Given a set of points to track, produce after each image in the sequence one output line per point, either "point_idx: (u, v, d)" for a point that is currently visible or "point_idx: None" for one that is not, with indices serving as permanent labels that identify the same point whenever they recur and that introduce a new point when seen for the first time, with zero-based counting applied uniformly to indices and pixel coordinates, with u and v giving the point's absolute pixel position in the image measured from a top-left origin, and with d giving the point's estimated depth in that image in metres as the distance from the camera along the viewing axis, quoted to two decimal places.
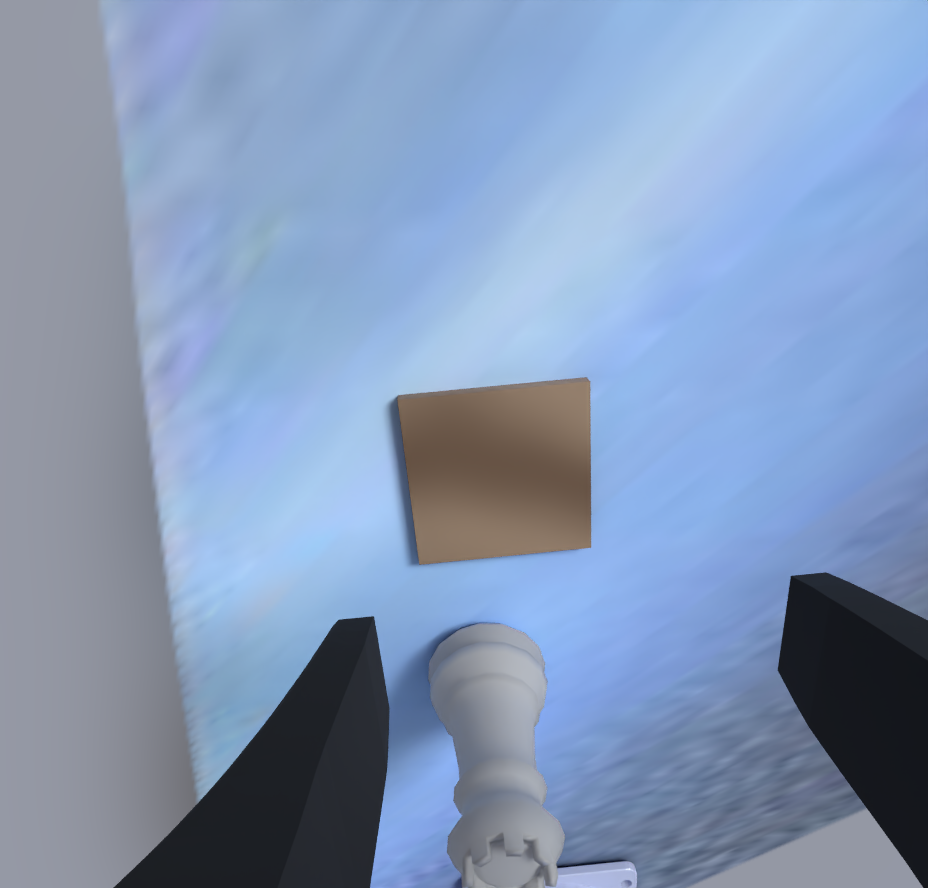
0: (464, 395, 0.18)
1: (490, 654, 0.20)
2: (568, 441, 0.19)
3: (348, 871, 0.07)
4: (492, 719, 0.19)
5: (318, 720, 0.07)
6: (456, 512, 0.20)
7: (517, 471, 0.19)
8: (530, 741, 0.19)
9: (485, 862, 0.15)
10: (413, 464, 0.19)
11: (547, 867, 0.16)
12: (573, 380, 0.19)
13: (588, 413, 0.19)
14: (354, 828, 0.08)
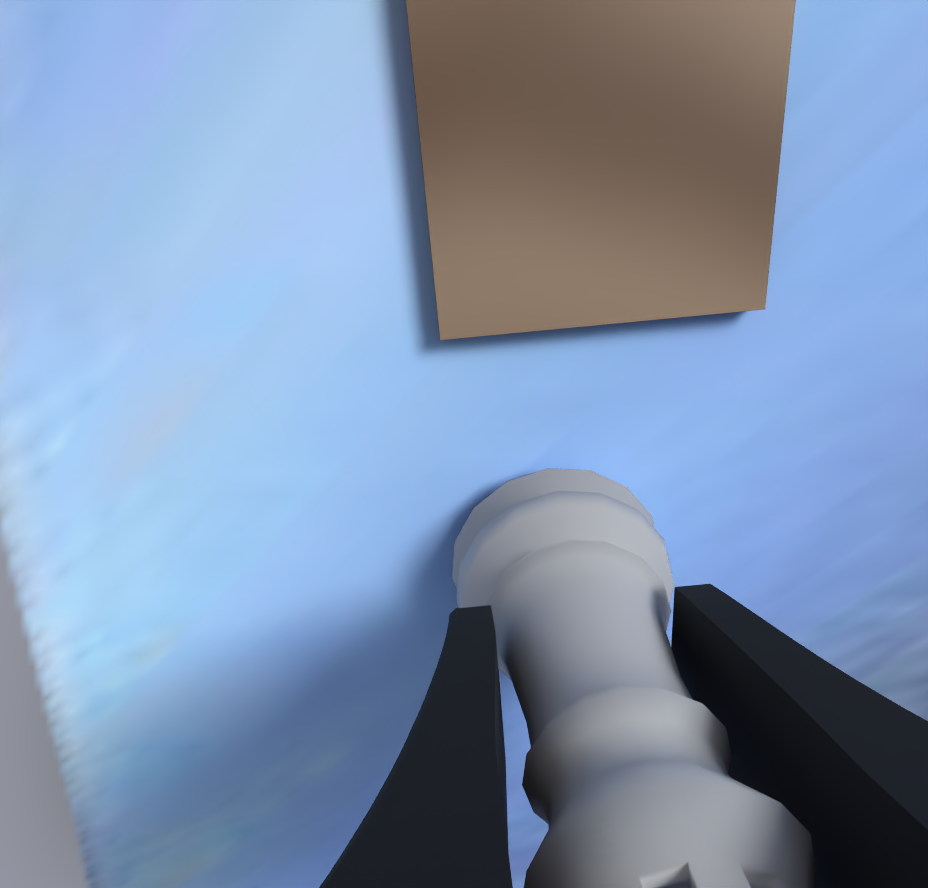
0: None
1: (575, 509, 0.11)
2: (746, 55, 0.09)
3: None
4: (595, 616, 0.09)
5: (478, 704, 0.07)
6: (513, 222, 0.10)
7: (638, 127, 0.10)
8: (675, 663, 0.09)
9: None
10: (432, 103, 0.09)
11: None
12: None
13: None
14: (503, 813, 0.08)
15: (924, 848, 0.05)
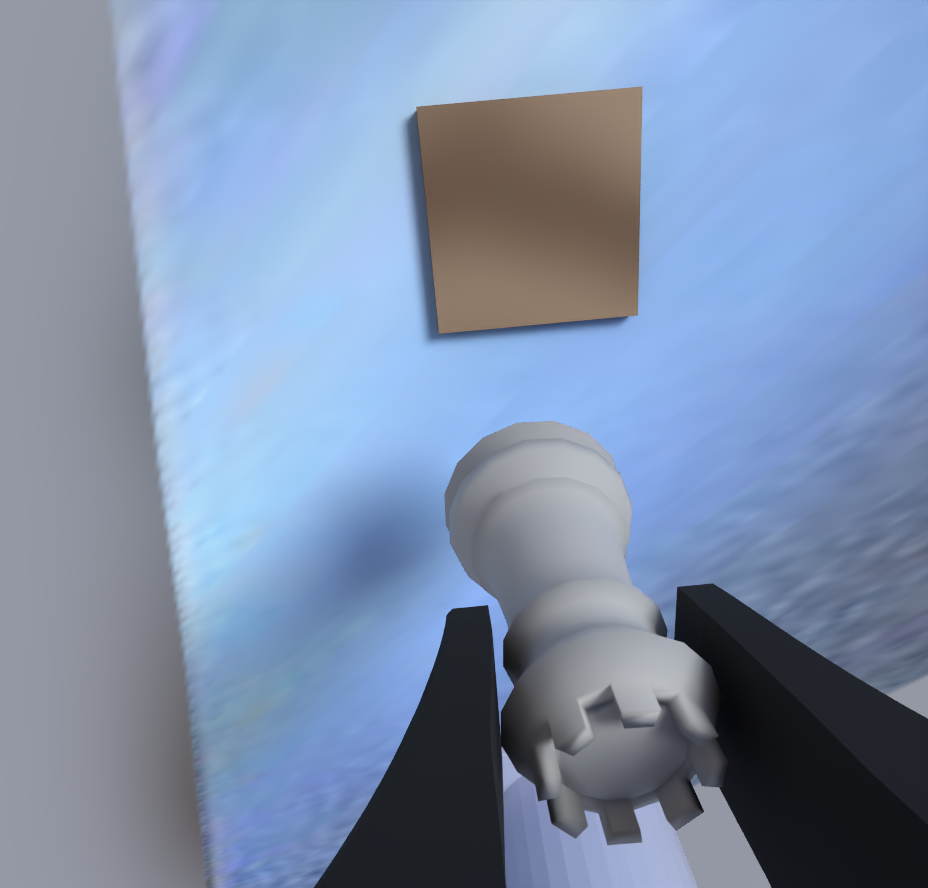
0: (495, 102, 0.16)
1: (540, 453, 0.13)
2: (615, 169, 0.16)
3: None
4: (556, 534, 0.11)
5: (474, 704, 0.07)
6: (482, 263, 0.17)
7: (554, 209, 0.17)
8: (624, 566, 0.11)
9: (582, 744, 0.07)
10: (434, 196, 0.16)
11: (702, 750, 0.08)
12: None
13: (639, 130, 0.16)
14: (500, 813, 0.08)
15: None
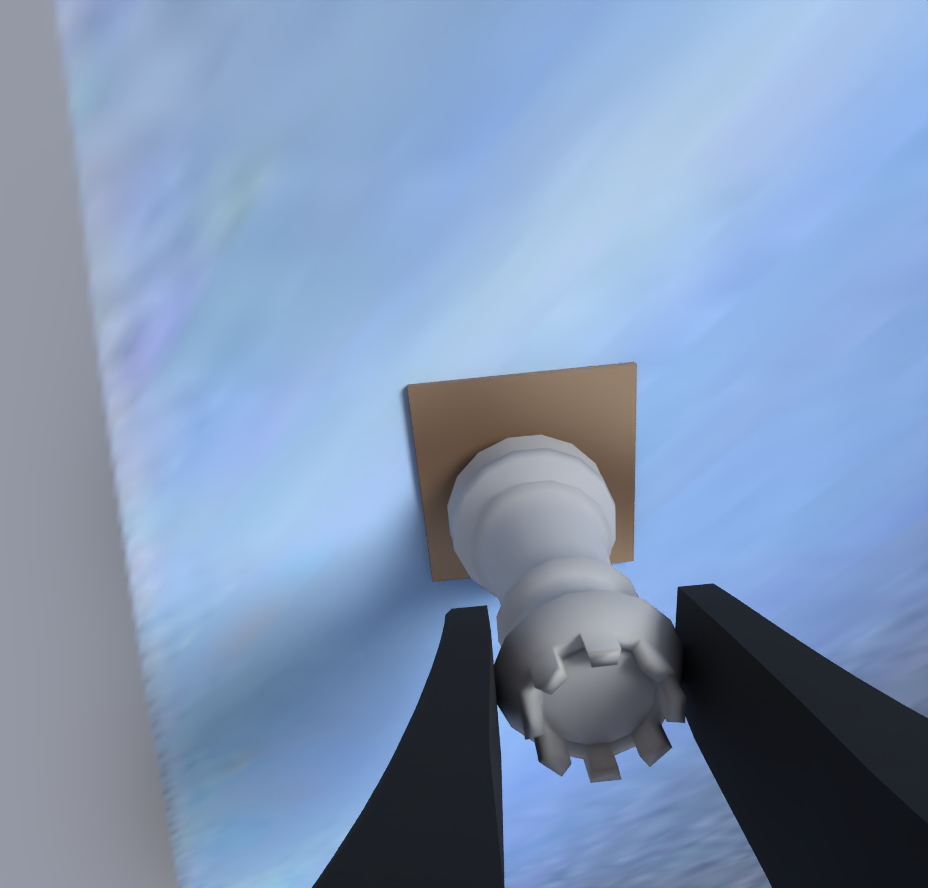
0: (487, 381, 0.15)
1: (527, 461, 0.14)
2: (609, 436, 0.16)
3: None
4: (541, 526, 0.12)
5: (473, 705, 0.07)
6: None
7: None
8: (603, 552, 0.12)
9: (557, 683, 0.09)
10: (426, 464, 0.16)
11: (665, 690, 0.09)
12: None
13: (634, 402, 0.16)
14: (498, 813, 0.08)
15: None
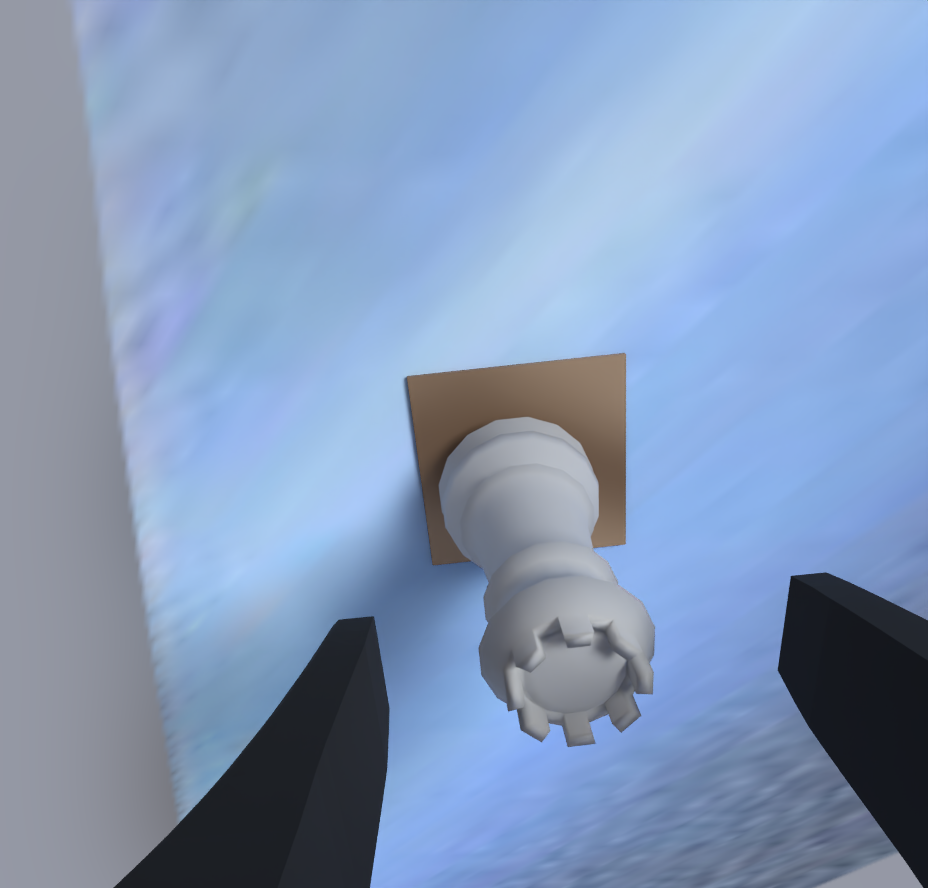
0: (483, 371, 0.16)
1: (514, 445, 0.15)
2: (600, 423, 0.17)
3: (348, 871, 0.07)
4: (526, 510, 0.13)
5: (318, 720, 0.07)
6: None
7: None
8: (584, 533, 0.13)
9: (536, 662, 0.10)
10: (425, 451, 0.17)
11: (635, 666, 0.10)
12: None
13: (623, 391, 0.16)
14: (354, 828, 0.08)
15: None
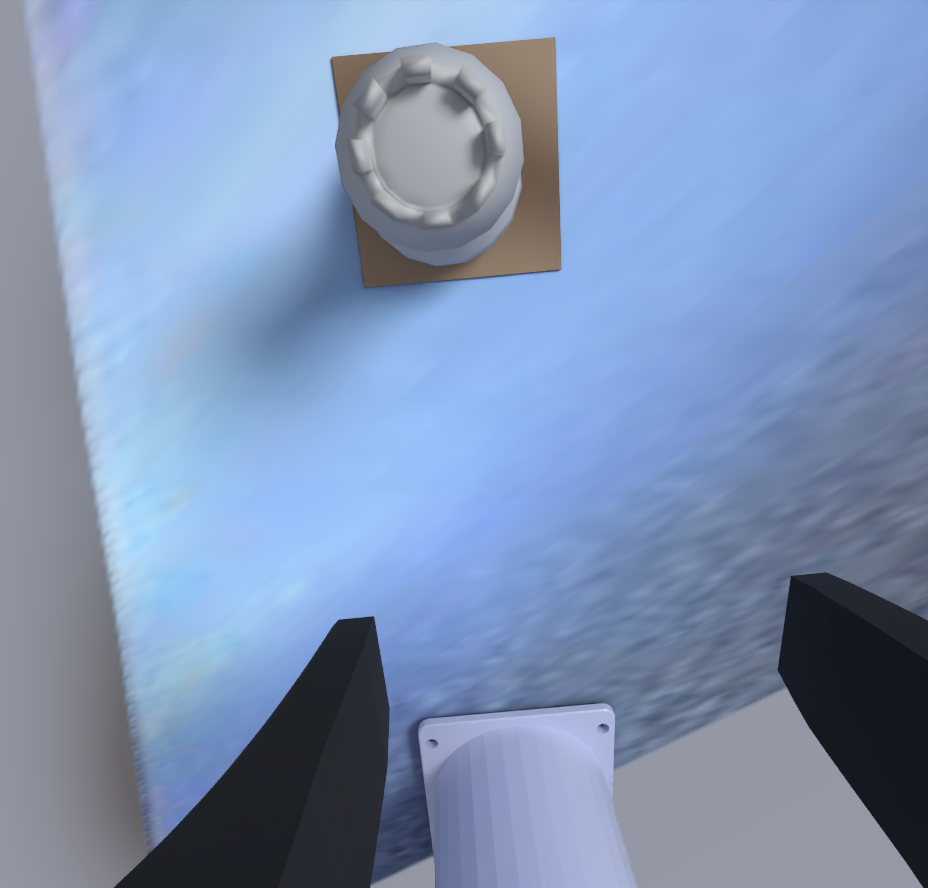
0: None
1: None
2: (532, 121, 0.17)
3: (348, 871, 0.07)
4: None
5: (318, 720, 0.07)
6: None
7: None
8: None
9: (375, 99, 0.09)
10: None
11: (487, 124, 0.09)
12: None
13: (554, 81, 0.16)
14: (354, 828, 0.08)
15: None
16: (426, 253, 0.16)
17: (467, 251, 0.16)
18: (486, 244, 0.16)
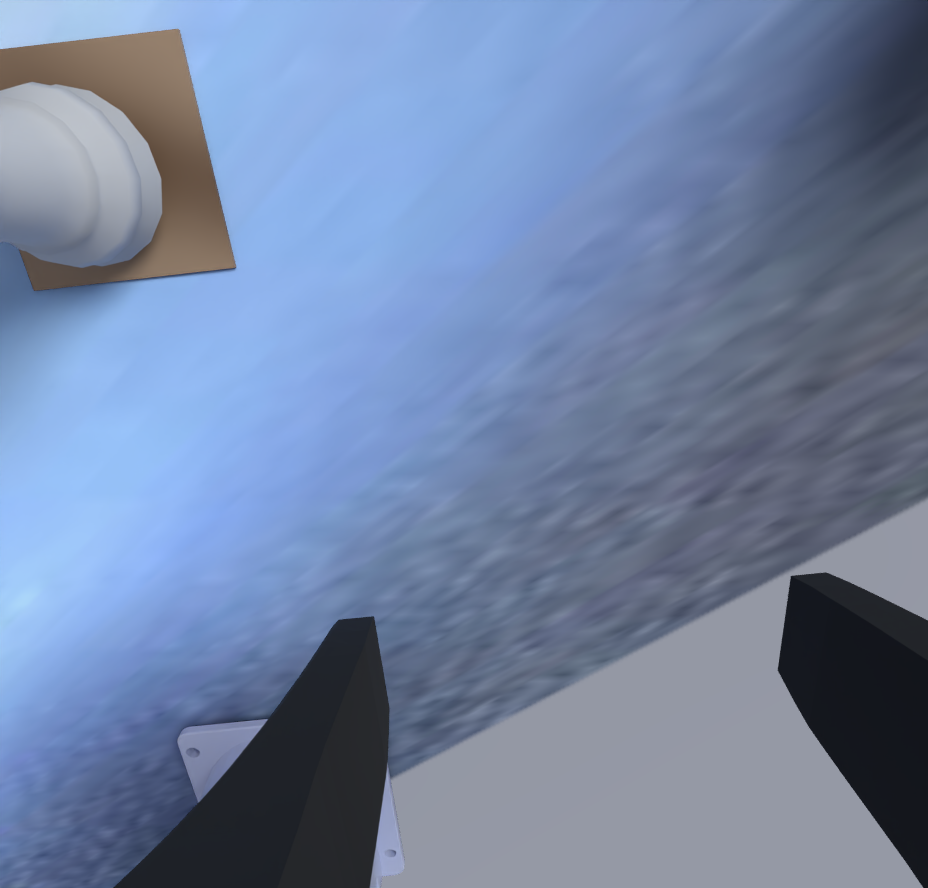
0: (28, 48, 0.15)
1: (1, 92, 0.14)
2: (171, 116, 0.16)
3: (348, 871, 0.07)
4: None
5: (318, 720, 0.07)
6: None
7: None
8: None
9: None
10: None
11: None
12: None
13: (186, 75, 0.16)
14: (354, 828, 0.08)
15: None
16: (55, 258, 0.15)
17: (94, 252, 0.15)
18: (115, 242, 0.15)
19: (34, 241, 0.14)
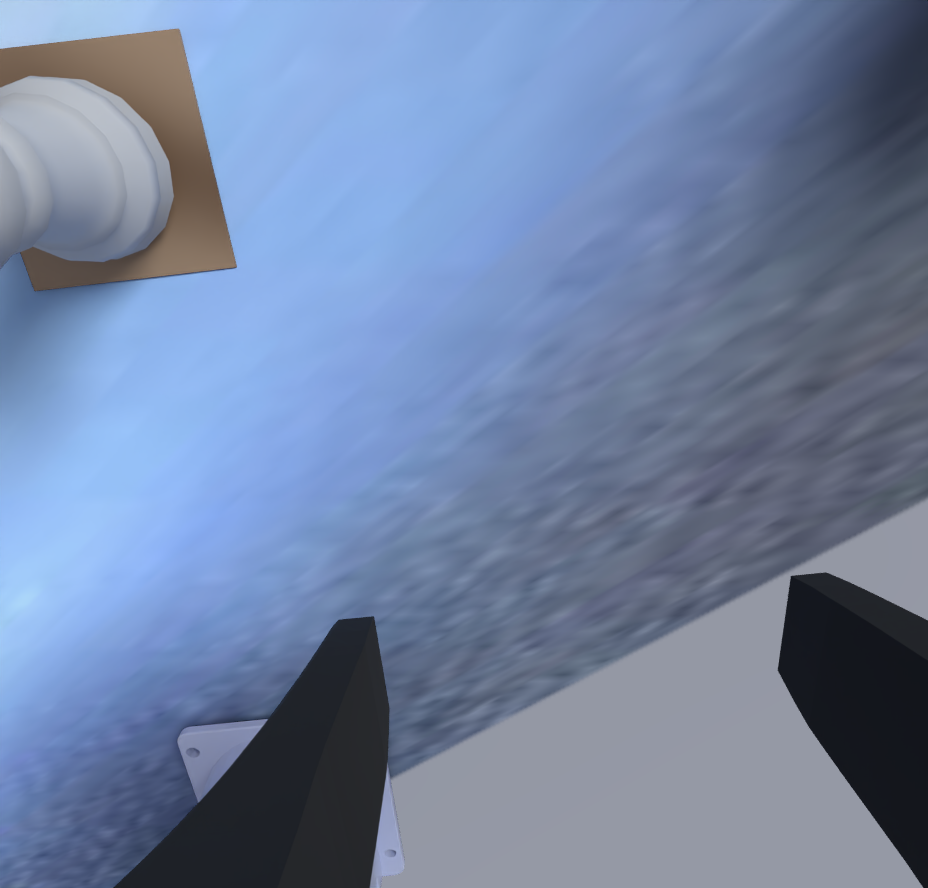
0: (27, 48, 0.15)
1: (2, 89, 0.14)
2: (172, 115, 0.16)
3: (348, 871, 0.07)
4: None
5: (318, 720, 0.07)
6: None
7: None
8: (32, 127, 0.12)
9: None
10: None
11: None
12: None
13: (186, 74, 0.16)
14: (354, 828, 0.08)
15: None
16: (80, 254, 0.15)
17: (121, 243, 0.15)
18: (139, 230, 0.15)
19: (70, 237, 0.14)
